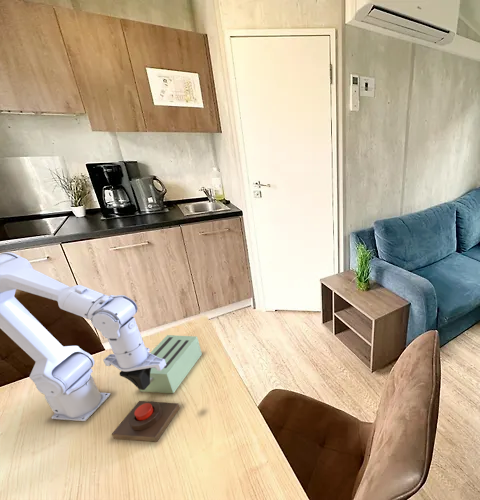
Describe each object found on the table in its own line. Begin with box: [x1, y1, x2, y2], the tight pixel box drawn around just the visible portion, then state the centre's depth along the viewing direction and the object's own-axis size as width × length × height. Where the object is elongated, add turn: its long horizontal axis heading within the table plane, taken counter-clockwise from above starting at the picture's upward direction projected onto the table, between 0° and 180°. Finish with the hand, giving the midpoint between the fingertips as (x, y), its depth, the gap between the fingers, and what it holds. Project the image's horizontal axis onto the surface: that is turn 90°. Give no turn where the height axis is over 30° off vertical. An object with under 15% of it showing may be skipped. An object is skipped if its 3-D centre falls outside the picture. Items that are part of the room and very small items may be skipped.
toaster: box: [138, 334, 203, 394], centre depth 85 cm, size 10×17×8 cm, turn 176°
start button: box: [134, 403, 154, 421], centre depth 71 cm, size 4×4×2 cm
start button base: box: [111, 400, 181, 443], centre depth 72 cm, size 11×9×4 cm
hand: (144, 386), depth 72 cm, fingers closed
